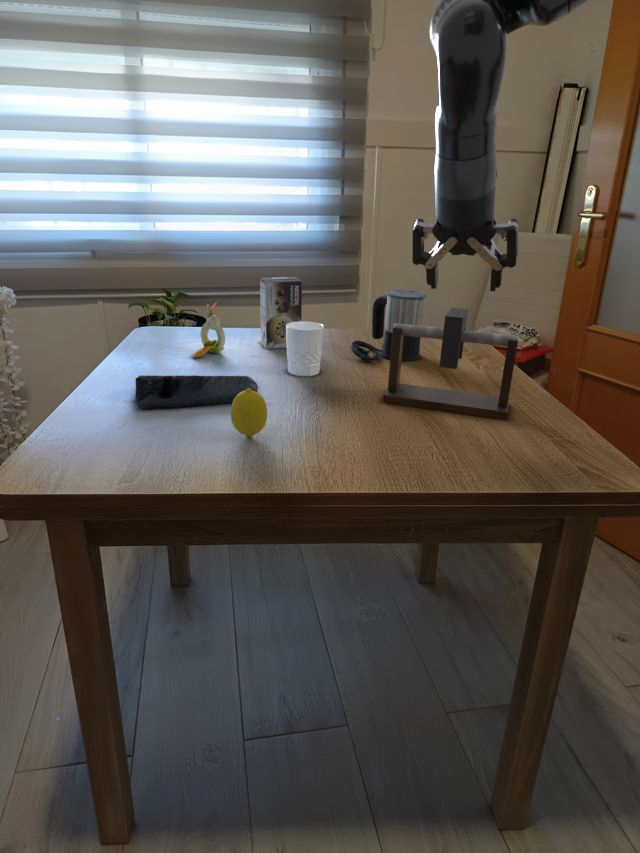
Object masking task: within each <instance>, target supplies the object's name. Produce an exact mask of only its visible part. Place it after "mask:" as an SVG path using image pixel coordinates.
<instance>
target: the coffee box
mask: <svg viewBox="0 0 640 853" xmlns="http://www.w3.org/2000/svg"><path fill="white" fill-rule="evenodd" d="M259 298H260V300H259V301H260V305H259V306H260V343H261V345H262V346H263V347H264V348H265V349H266V350H270V349H283V348H286V349H287V347H286V324H288V323H291V322H300V321H303V320H302V314H303V312H302V311H303V304H302V303H303V281H302V280H301V279H299V278H298V277H296V276H282V277H281V276H279V277H278V276H277V277H275V276H274V277H271V276H270V277H260V278H259Z"/></svg>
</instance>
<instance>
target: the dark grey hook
mask: <svg viewBox="0 0 640 853" xmlns="http://www.w3.org/2000/svg"><path fill="white" fill-rule="evenodd" d="M468 313H469V309H467V308H458V307H450V309H449V310H448V312H447V313H446V314H445V316H444V324H443V328H444V331H443V339H442V341H441V348H440V357H439V358H440V359H439V365H438V366H439V368H443V369H452V370H457V369H458V367H459V366H458V365H459V360H462V359H463V352H464V344H465V342H461V336H462V332H463V330H465V331H467V330H466V329H467V324H468V322H467V321H468V315H469V314H468Z"/></svg>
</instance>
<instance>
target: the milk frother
mask: <svg viewBox="0 0 640 853" xmlns="http://www.w3.org/2000/svg"><path fill="white" fill-rule="evenodd" d="M427 297H428V295H427V294H426V293H424V292H421V291H415V290H405V289H394V290H388V291H386V294H384V295H379V296H378V297H376V298H375V300H374V301H373V304H372V319H371V327H372V328H371V337H372V339H374V340H381V339H383V343H382V346H381V349H382V350H381V349H379V348H377V347H375V346H373V345H372V344H370V343H369V342H368V343H367V342H365V341H362V340H354V341H352V342H351V344H350V350H351V352H352V354H354V356H356V357H358V358H360V359H361V361H370V362H374V361H377V360H380V354H381V356H382V357H384V358H386V359H390V356H391V344H392V332H393V327H394V324H395V323H398V324H407V325H417V326H423V321H424V314H425V313H424V312H425V304H426V298H427ZM421 338H422V337H414V336H405V335H404V339H403V350H402V361H416V360H418V359H420V358H421V354H420V348H421ZM370 353H373V355H372V354H370Z"/></svg>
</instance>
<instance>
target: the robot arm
mask: <svg viewBox="0 0 640 853" xmlns="http://www.w3.org/2000/svg"><path fill="white" fill-rule="evenodd" d="M591 1H592V0H439V1H438V3H437V5H436V6H435V8H434V9H433V12H432V14H431V18H430V21H429V38H430V43H431V45H432V48H433V50H434V52H435V55H436V59H437V69H438V93H439V101H438V103H437V104H436V105H437V106H436V109H435V116H434V117H435V118H434V119H435V120H434V129H435V159H434V167H433V168H434V174H433V175H434V198H435V199H434V202H435V205H434V206H435V221H434V223H432V222H425V220H424V219H423V218H417V219H416V221H415V223H414V226H413V229H412V264H414V265H416V266H419V265H422V266H424V267H425V279H426V284H427V285H428V286H430V289H431V290H436V289H437V287H438V283H439V264H438V263H439V262H440V261H441V260H442V259H443V258H444V257H445V256H446V255H447V254H448V253H449V254H451V256H461V255H466V256H475V255H478V256H479V257H480V258H481V259H482V260H483V261H484V263H488V264H489V266H490V267H491V270H490V284H489V285H490V288H489V292H496V290H497V289H499V288H501V286H502V280H503V269H505V268H510V269H512V268H514V267H516V265H517V257H518V254H519V253H518V252H519V220H518V219H516V218H511V219H510V220H509V221H508V222H501V223H500V222H499V223H498V222H497V221H496V220H495V202H496V200H495V199H496V181H497V177H498V169H497V163H498V162H497V150H496V141H497V126H498V125H497V120H498V111H497V109H498V108H497V104H498V101H499V96H500V92H501V88H502V82H503V77H504V72H505V66H506V59H507V45H508V44H507V41H508V40H507V38H508V35H509V34H511V33H513V32H515V31H517V30H519V29H521V28H523V27H525V26H530V25H531V26H537V27H545V26H548V25H551V24H553V23H555V22H557V21H559V20H561V19H562V18H565V17H567V15H569V14H571V13H572V12H574V11H576V10H577V9H580V8H581V7H583V6H584V5H586V4H587V3H589V2H591ZM430 234H432V235H433V237H434V238H435V239H436V240H437V242H436V244H435V246H434V247H433V248H432V249H431V250H430V251H429V252H427V251H425V240H427V239H428V238H429V235H430ZM496 234H498V235H500V237H501V239H502V241H503V242H506V252H505V253H504V254H503V253H502V252H501V250H500V249H499V248H498V247H497V244H496V242H495V241H494V240H493V238H494V237H495V236H496Z"/></svg>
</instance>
